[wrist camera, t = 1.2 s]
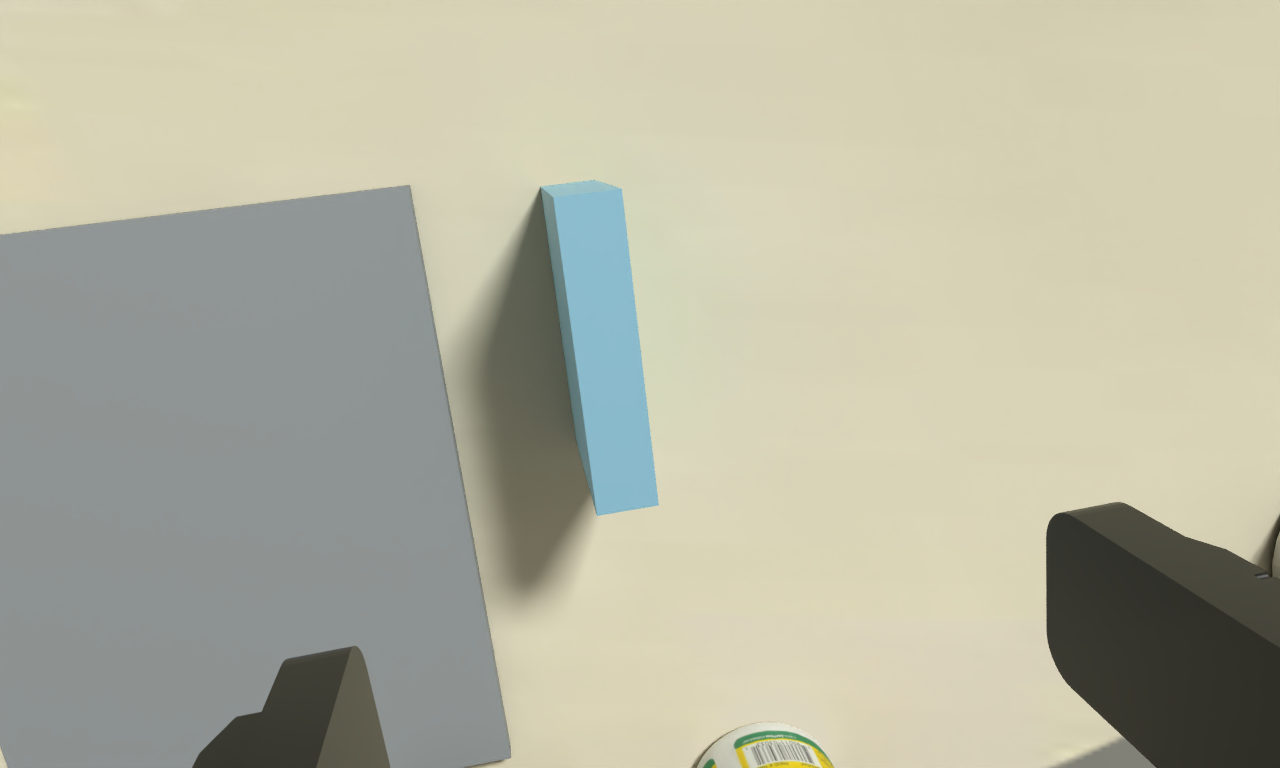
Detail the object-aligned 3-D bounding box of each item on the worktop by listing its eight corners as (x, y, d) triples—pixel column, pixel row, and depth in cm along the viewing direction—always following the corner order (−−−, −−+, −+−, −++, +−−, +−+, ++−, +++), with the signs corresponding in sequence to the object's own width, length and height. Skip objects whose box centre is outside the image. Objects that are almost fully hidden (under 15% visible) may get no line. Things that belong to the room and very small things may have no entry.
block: (593, 179, 27) (621, 188, 21) (625, 433, 29) (658, 505, 23) (540, 186, 26) (553, 197, 21) (576, 441, 28) (597, 515, 23)
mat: (409, 184, 26) (407, 185, 25) (510, 746, 31) (511, 757, 30) (-160, 254, 24) (-177, 257, 23) (47, 838, 29) (38, 852, 28)
